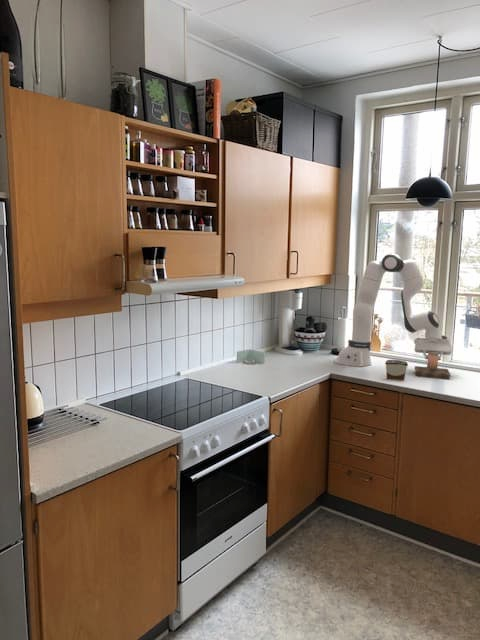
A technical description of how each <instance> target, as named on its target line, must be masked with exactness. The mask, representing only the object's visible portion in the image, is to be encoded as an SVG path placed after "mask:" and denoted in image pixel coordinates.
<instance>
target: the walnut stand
mask: <svg viewBox="0 0 480 640" xmlns="http://www.w3.org/2000/svg"><path fill="white" fill-rule="evenodd" d="M414 370H415V371H414V372H415V374H416V377H423V378H433V379H441V380H442V379H443V380H444V379H445V380H449V379H450V377H451V373H450V371H449V369H448V368H440V367H437V369H431V368H428V367H427V366H418V365H415V366H414Z"/></svg>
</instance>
